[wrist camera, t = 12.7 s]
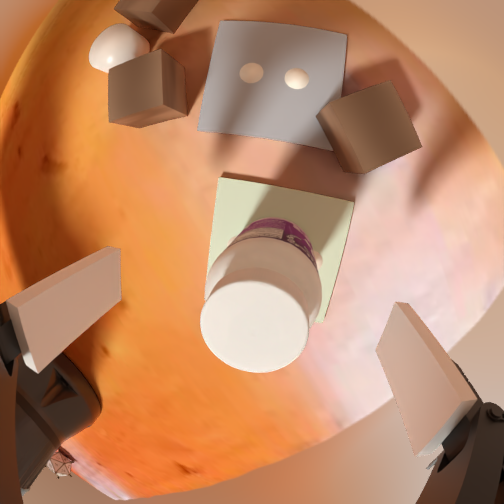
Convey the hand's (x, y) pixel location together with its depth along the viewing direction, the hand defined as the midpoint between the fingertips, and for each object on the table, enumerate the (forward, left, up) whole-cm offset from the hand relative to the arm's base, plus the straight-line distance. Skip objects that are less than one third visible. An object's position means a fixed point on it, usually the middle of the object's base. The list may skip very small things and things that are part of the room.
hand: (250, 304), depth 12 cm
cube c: (+4, +9, -7) cm, 13 cm away
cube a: (-10, +10, -8) cm, 16 cm away
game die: (-41, -66, -8) cm, 78 cm away
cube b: (-9, +18, -6) cm, 21 cm away
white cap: (-13, +14, -8) cm, 21 cm away
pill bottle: (0, 0, -7) cm, 7 cm away
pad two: (-1, +12, -8) cm, 14 cm away
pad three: (+1, 0, -8) cm, 8 cm away
